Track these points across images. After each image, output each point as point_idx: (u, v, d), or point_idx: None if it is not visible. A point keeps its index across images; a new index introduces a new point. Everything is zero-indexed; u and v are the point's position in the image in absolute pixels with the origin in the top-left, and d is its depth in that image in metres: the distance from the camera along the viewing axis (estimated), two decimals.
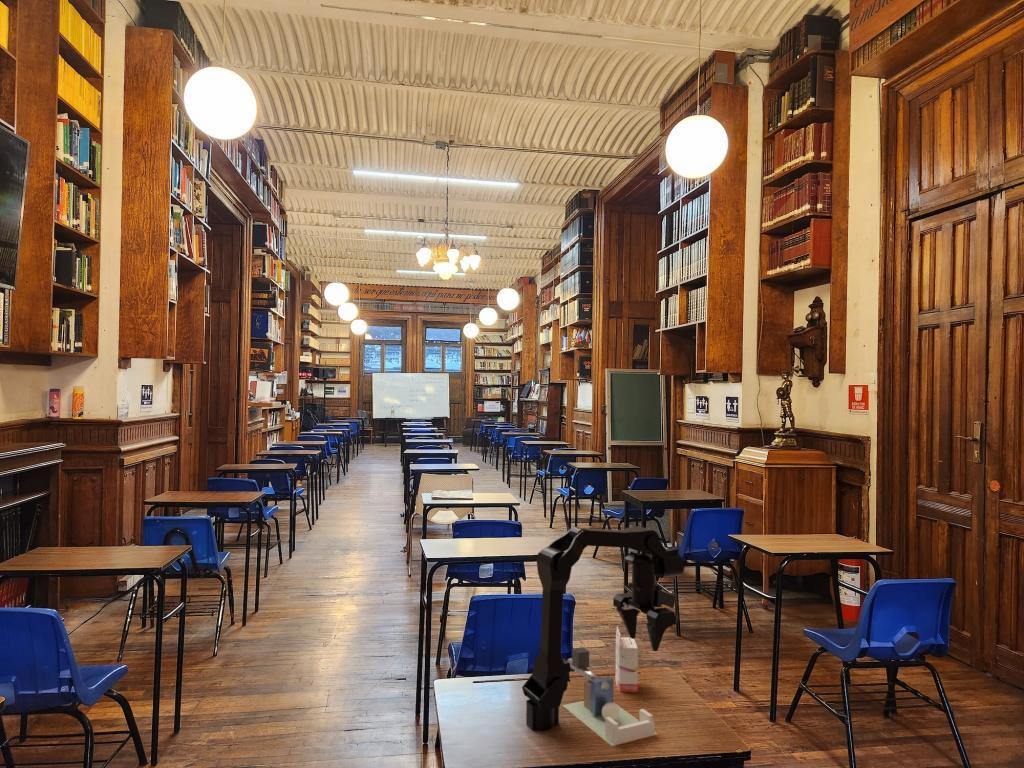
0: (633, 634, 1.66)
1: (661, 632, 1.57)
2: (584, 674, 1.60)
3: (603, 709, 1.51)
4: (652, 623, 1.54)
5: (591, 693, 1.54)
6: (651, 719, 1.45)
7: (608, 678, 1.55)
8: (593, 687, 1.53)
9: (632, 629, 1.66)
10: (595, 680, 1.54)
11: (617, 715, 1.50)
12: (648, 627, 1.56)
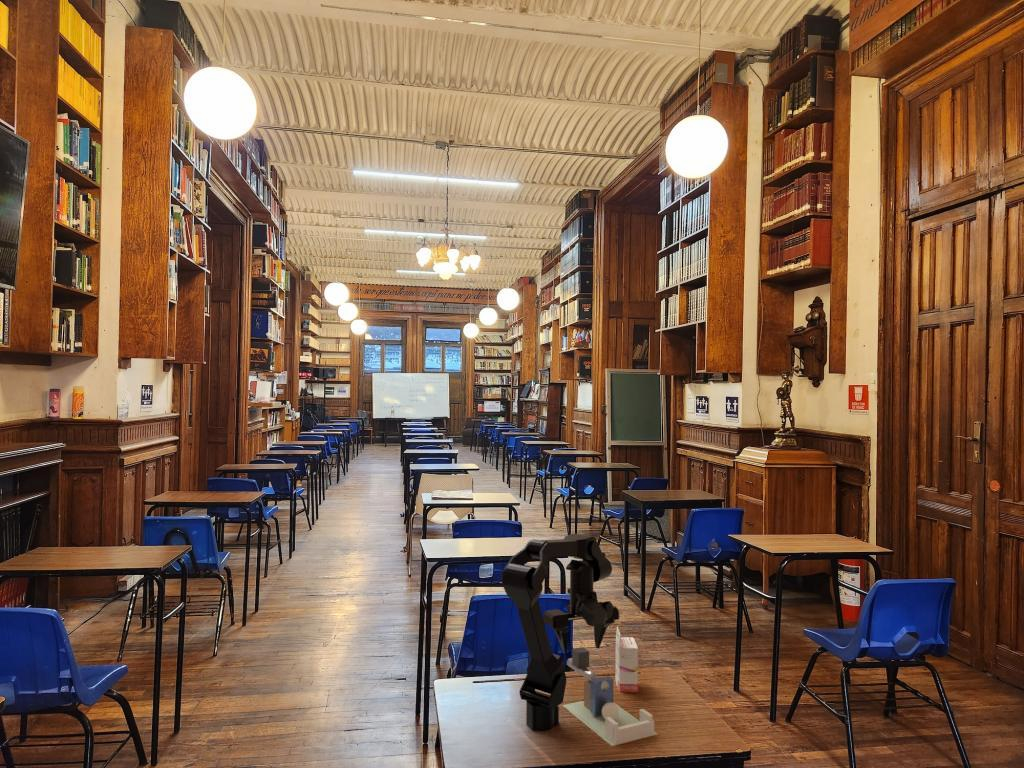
0: (596, 643, 1.65)
1: None
2: (584, 674, 1.60)
3: (603, 709, 1.51)
4: None
5: (591, 693, 1.54)
6: (651, 719, 1.45)
7: (608, 678, 1.55)
8: (593, 687, 1.53)
9: (596, 638, 1.65)
10: (595, 680, 1.54)
11: (617, 715, 1.50)
12: None
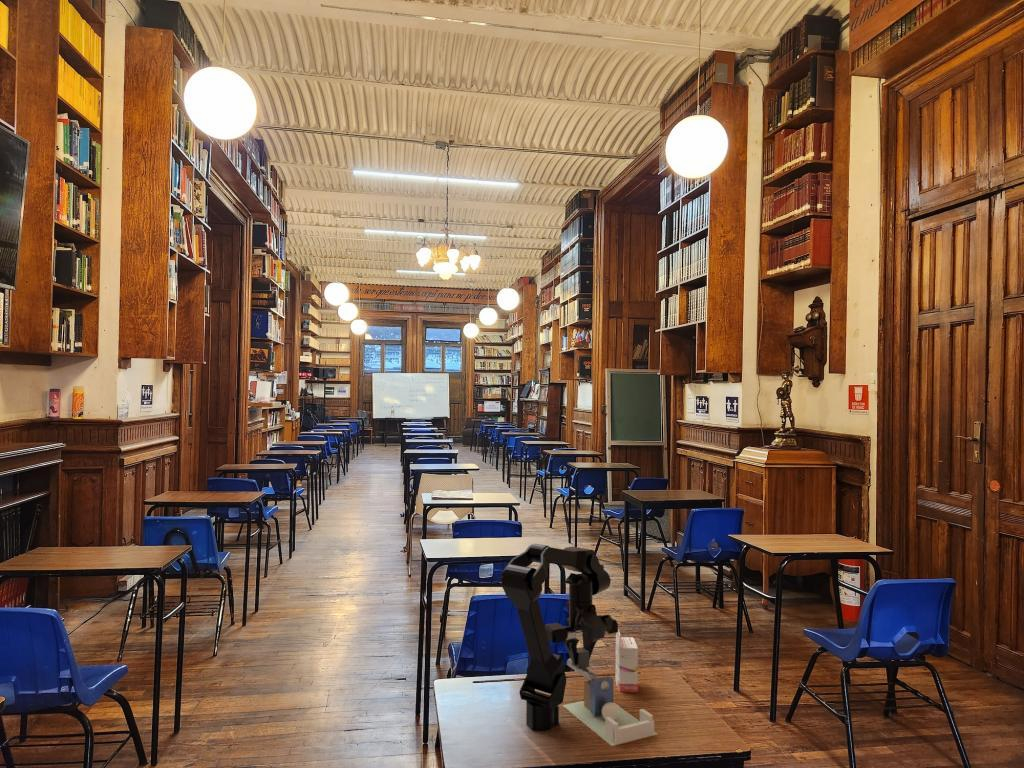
0: None
1: None
2: (584, 674, 1.60)
3: (603, 709, 1.51)
4: None
5: (591, 693, 1.54)
6: (651, 719, 1.45)
7: (608, 678, 1.55)
8: (593, 687, 1.53)
9: None
10: (595, 680, 1.54)
11: (617, 715, 1.50)
12: None
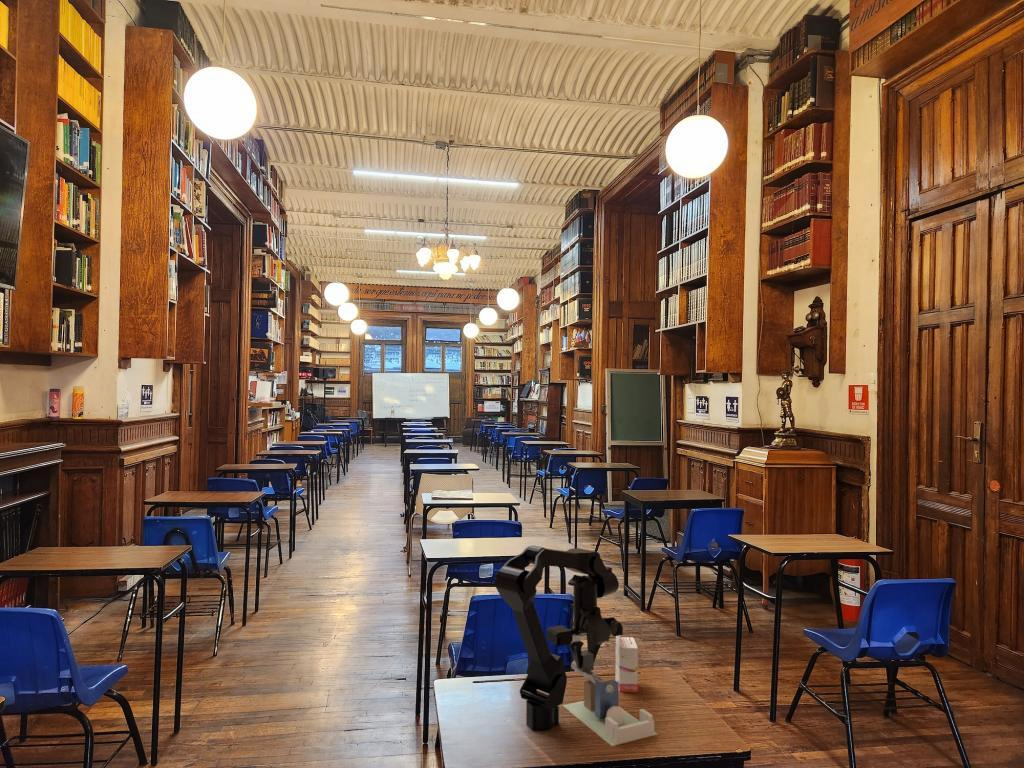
0: None
1: None
2: (589, 677, 1.58)
3: (610, 715, 1.48)
4: None
5: (595, 696, 1.52)
6: (651, 719, 1.45)
7: (613, 681, 1.53)
8: (598, 691, 1.51)
9: None
10: (600, 683, 1.52)
11: None
12: None
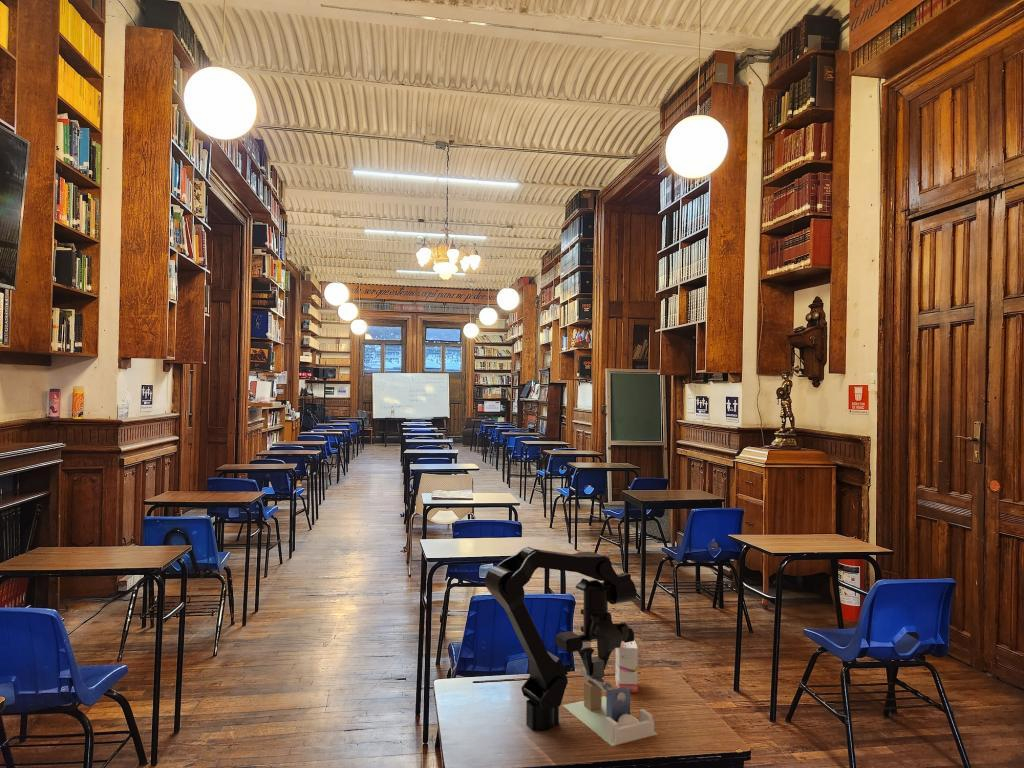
0: None
1: None
2: (599, 685, 1.54)
3: None
4: None
5: (607, 704, 1.48)
6: (651, 719, 1.45)
7: (625, 689, 1.49)
8: (609, 699, 1.47)
9: None
10: (611, 691, 1.48)
11: None
12: None
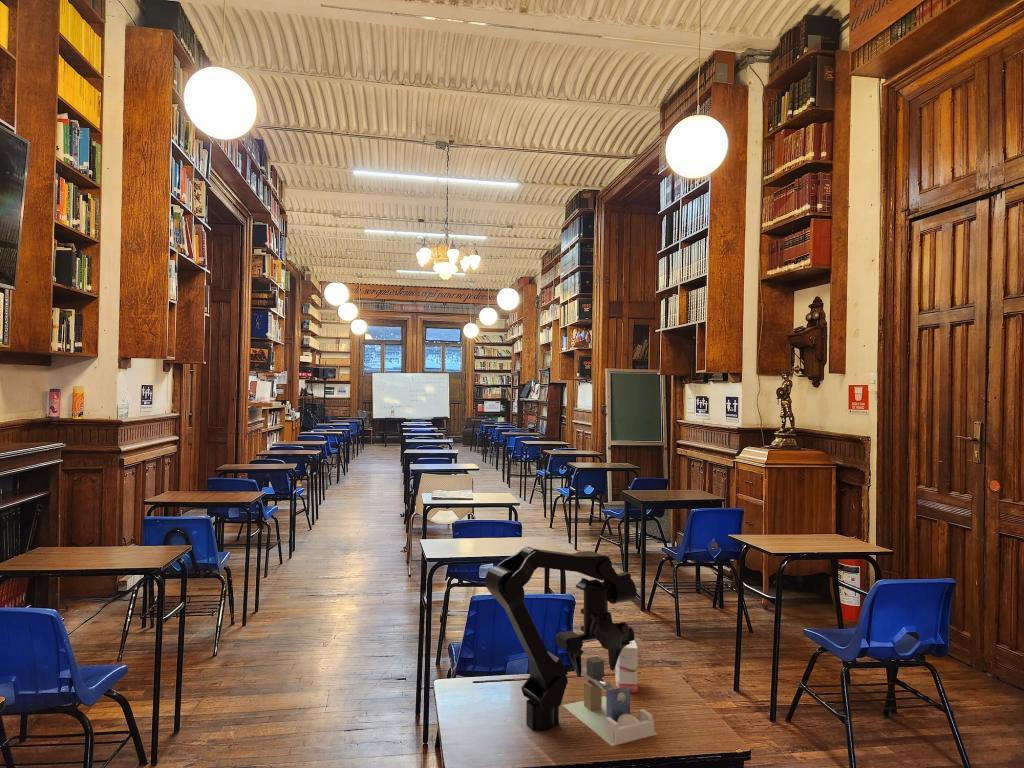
0: (611, 665, 1.59)
1: None
2: (599, 685, 1.54)
3: None
4: None
5: (607, 704, 1.48)
6: (651, 719, 1.45)
7: (625, 689, 1.49)
8: (609, 699, 1.47)
9: (611, 660, 1.59)
10: (611, 691, 1.48)
11: None
12: None
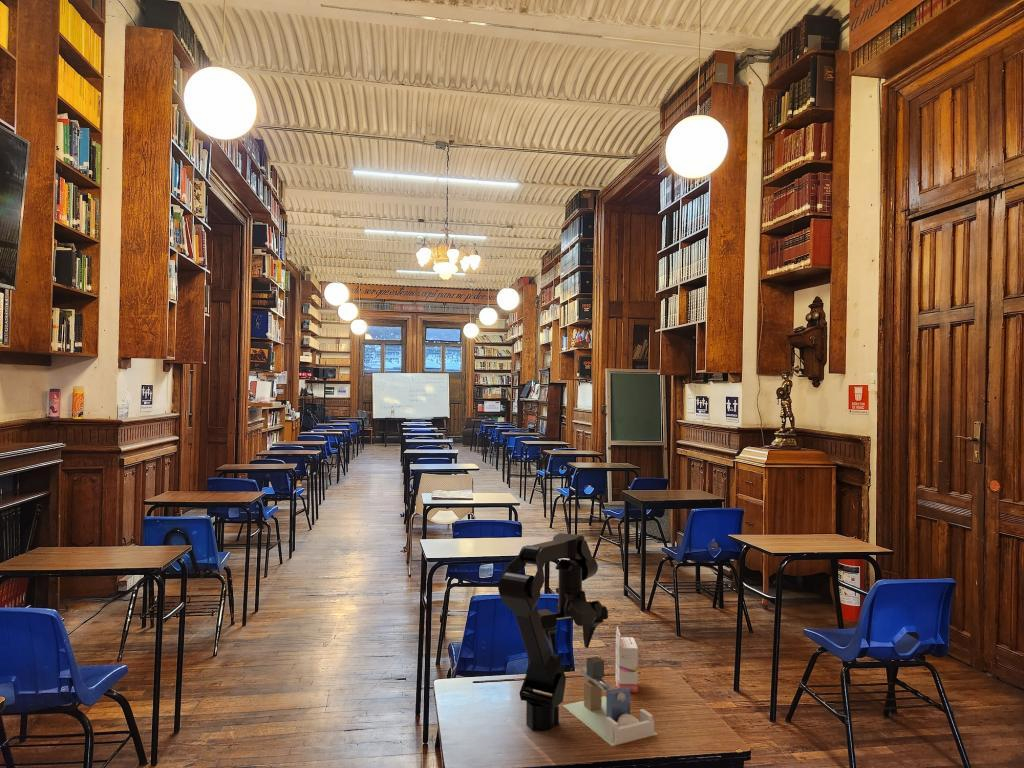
0: (585, 643, 1.64)
1: None
2: (599, 685, 1.54)
3: None
4: None
5: (607, 704, 1.48)
6: (651, 719, 1.45)
7: (625, 689, 1.49)
8: (609, 699, 1.47)
9: (585, 638, 1.64)
10: (611, 691, 1.48)
11: None
12: None
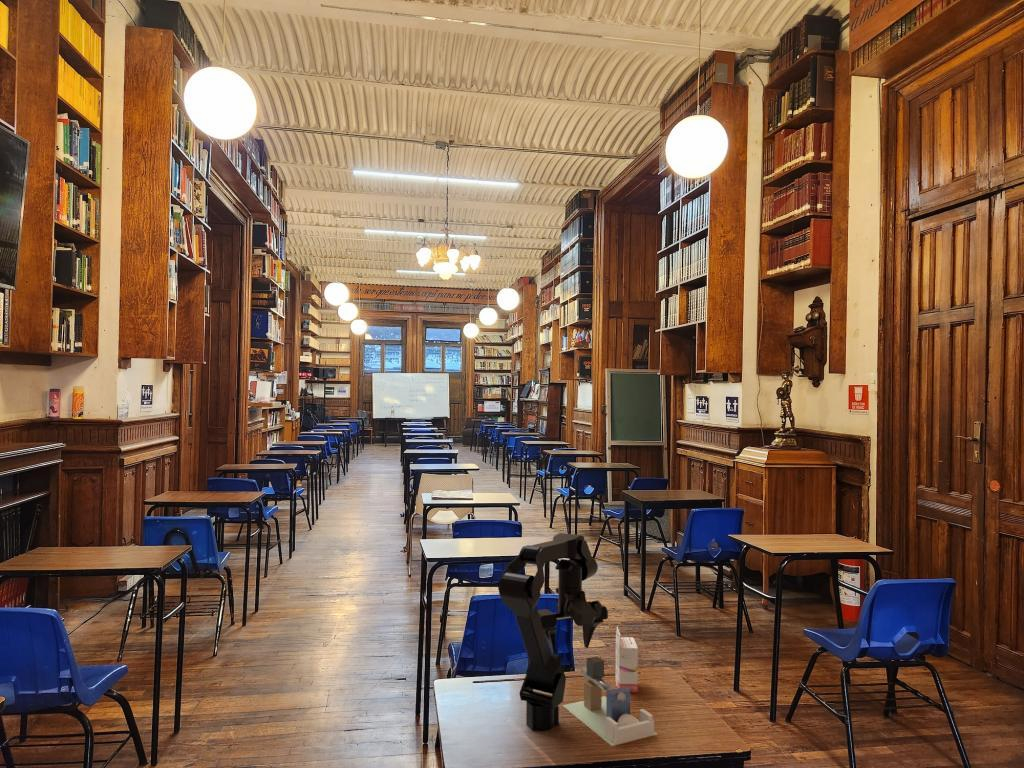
0: (585, 643, 1.64)
1: None
2: (599, 685, 1.54)
3: None
4: None
5: (607, 704, 1.48)
6: (651, 719, 1.45)
7: (625, 689, 1.49)
8: (609, 699, 1.47)
9: (585, 638, 1.64)
10: (611, 691, 1.48)
11: None
12: None
